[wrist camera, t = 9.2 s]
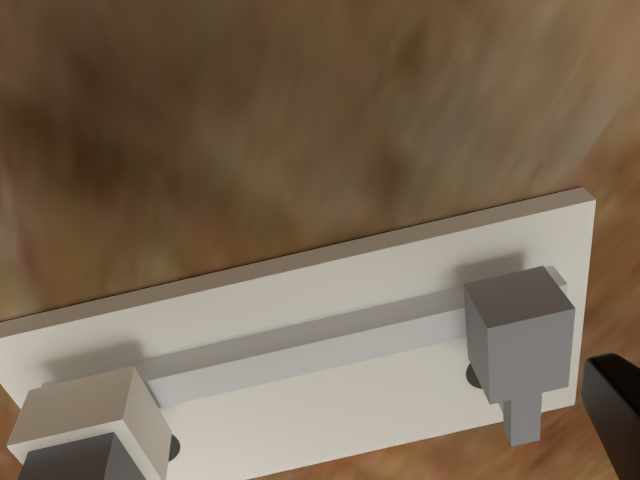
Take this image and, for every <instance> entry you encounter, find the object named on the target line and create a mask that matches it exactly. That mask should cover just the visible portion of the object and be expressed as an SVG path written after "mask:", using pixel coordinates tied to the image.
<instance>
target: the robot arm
mask: <svg viewBox="0 0 640 480" xmlns="http://www.w3.org/2000/svg"><path fill="white" fill-rule="evenodd" d="M581 394H582V400H583V403H584V406H585V408H586V410H587V412H588V414H589V416H590V419H591V421H592V423H593V425H594V427H595V429H596V431H597V433H598V436H599V438H600V440H601V442H602V444H603V446H604V448H605V450H606V453H607V455H608V457H609V459H610V461H611V463H612V465H613V467H614V470H615V472H616V474H617V476H618V478H619V480H640V368H639V367H637V366H635V365H634V364H632V363H630V362H629V361H627V360H626V359H624V358H622V357H621V356H619V355H617V354H614V353H605V354H600V355H596V356H592V357H589V358H587V359H586V361H585V363H584V370H583V379H582V388H581Z"/></svg>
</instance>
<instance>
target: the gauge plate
mask: <svg viewBox="0 0 640 480" xmlns="http://www.w3.org/2000/svg"><path fill="white" fill-rule="evenodd" d="M595 205H596V199H595V198H594V197H593V196H592V195H590V194H589V193H588V192H587V191H586V190H585V189H584V188H583V187H580V188H575V189H571V190H567V191H562V192H558V193H554V194H550V195H545V196H541V197H537V198H532V199H528V200H524V201H519V202H515V203H511V204H507V205H502V206H498V207H494V208H489V209H485V210H481V211H476V212H472V213H468V214H464V215H459V216H455V217H451V218H446V219H442V220H438V221H434V222H429V223H425V224H421V225H416V226H412V227H408V228H403V229H399V230H395V231H391V232H386V233H382V234H378V235H373V236H369V237H365V238H360V239H356V240H352V241H348V242H343V243H339V244H335V245H330V246H326V247H322V248H318V249H313V250H309V251H305V252H300V253H296V254H292V255H287V256H283V257H279V258H275V259H270V260H266V261H262V262H257V263H253V264H249V265H245V266H240V267H236V268H232V269H227V270H223V271H219V272H214V273H210V274H206V275H202V276H197V277H193V278H189V279H184V280H180V281H176V282H171V283H167V284H163V285H159V286H154V287H150V288H146V289H141V290H137V291H133V292H129V293H124V294H120V295H116V296H111V297H107V298H103V299H98V300H94V301H90V302H86V303H81V304H77V305H73V306H68V307H64V308H60V309H56V310H51V311H47V312H43V313H38V314H34V315H30V316H25V317H21V318H17V319H13V320H8V321H4V322H0V384H1V385H2V386H3V388H4V389H5V390H6V391H7V393H8V394H9V395H10V396H11V398H12V399H13V400H14V401H15V403H16V404H17V405H18V406H19V408H20V409H21V408H22V406H23V404H24V401H25V399H26V396H27V394H28V391H29V390H31V389H36V388H40V387H44V386H49V385H53V384H57V383H62V382H66V381H70V380H75V379H79V378H83V377H88V376H92V375H96V374H101V373H105V372H109V371H114V370H118V369H122V368H127V367H131V366H135V368H136V370H137V371H138V373H139V375H140V377H141V378H142V380H143V382H144V384H145V385H146V387H147V389H148V391H149V392H150V394H151V396H152V398H153V399H154V401H155V403H156V405H157V406H158V408H159V410H160V412H161V413H162V415H163V417H164V419H165V420H166V422H167V424H168V426H169V427H170V429H171V431H172V435H171V443H170V451H169V460H168V468H167V476H166V480H247V479H251V478H256V477H260V476H264V475H269V474H273V473H278V472H282V471H286V470H291V469H295V468H300V467H304V466H308V465H313V464H317V463H322V462H326V461H330V460H335V459H339V458H344V457H348V456H352V455H357V454H361V453H366V452H370V451H374V450H379V449H383V448H388V447H392V446H396V445H401V444H405V443H410V442H414V441H418V440H423V439H427V438H432V437H436V436H440V435H445V434H449V433H454V432H458V431H462V430H467V429H471V428H476V427H480V426H484V425H489V424H493V423H498V422H502V421H503V431H504V433H505V435H506V437H507V439H508V441H509V443H510V446H511V447H513V446H517V445H521V444H526V443H530V442H535V441H539V440H540V425H541V413H542V412H546V411H550V410H555V409H559V408H564V407H568V406H572V405H575V397H576V388H577V378H578V369H579V359H580V349H581V340H582V330H583V320H584V311H585V301H586V292H587V282H588V272H589V263H590V253H591V243H592V234H593V224H594V214H595Z"/></svg>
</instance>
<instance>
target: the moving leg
mask: <svg viewBox="0 0 640 480" xmlns="http://www.w3.org/2000/svg"><path fill="white" fill-rule="evenodd" d="M171 435H172V431H171V429H170V427H169V426H168V424H167V422H166V420H165V419H164V417H163V415H162V413H161V412H160V410H159V408H158V406H157V405H156V403H155V401H154V399H153V398H152V396H151V394H150V392H149V391H148V389H147V387H146V385H145V384H144V382H143V380H142V378H141V377H140V375H139V373H138V371H137V370H136V368H135V366H131V367H127V368H122V369H118V370H114V371H109V372H105V373H101V374H96V375H92V376H88V377H83V378H79V379H75V380H70V381H66V382H62V383H57V384H53V385H49V386H44V387H40V388H36V389H31V390H29V391H28V394H27V396H26V399H25V401H24V404H23V406H22V408H21V411H20V413H19V416H18V418H17V421H16V423H15V426H14V428H13V431H12V433H11V436H10V438H9V440H8V443H7V445H6V447H7V448H8V449H9V450H10V451H11V452H12V453H13V455H14V456H15V457H16V458H17V459H18V460H19V461H20V463H21V464H22V465H23V467H22V470H21V473H20V475H19V478H18V480H166V476H167V468H168V460H169V451H170V443H171Z"/></svg>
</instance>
